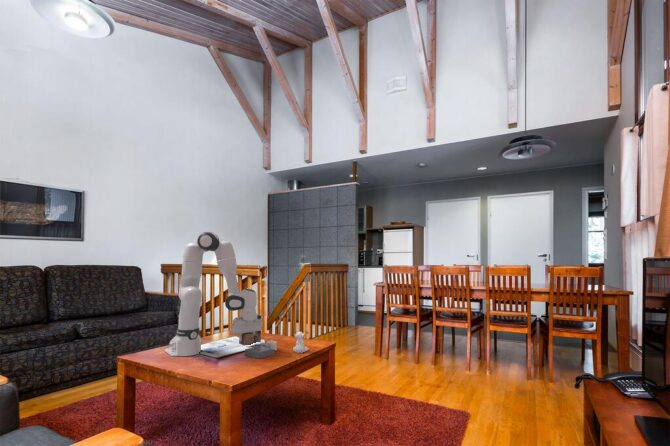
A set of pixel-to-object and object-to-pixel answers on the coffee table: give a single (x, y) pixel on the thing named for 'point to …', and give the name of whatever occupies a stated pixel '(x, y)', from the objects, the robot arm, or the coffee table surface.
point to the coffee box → (257, 336)
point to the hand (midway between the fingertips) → (246, 340)
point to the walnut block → (247, 339)
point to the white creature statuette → (300, 343)
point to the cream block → (271, 344)
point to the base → (259, 352)
